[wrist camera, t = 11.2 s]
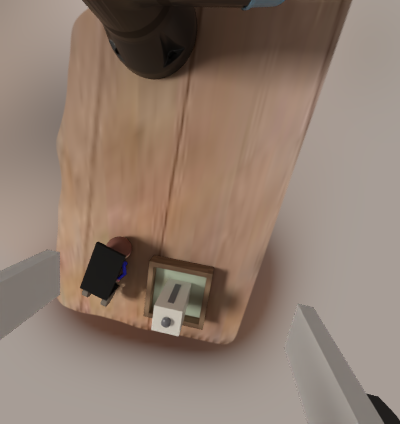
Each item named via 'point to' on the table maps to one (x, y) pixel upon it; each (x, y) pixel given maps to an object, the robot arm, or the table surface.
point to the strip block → (171, 307)
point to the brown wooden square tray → (184, 272)
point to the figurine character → (106, 269)
